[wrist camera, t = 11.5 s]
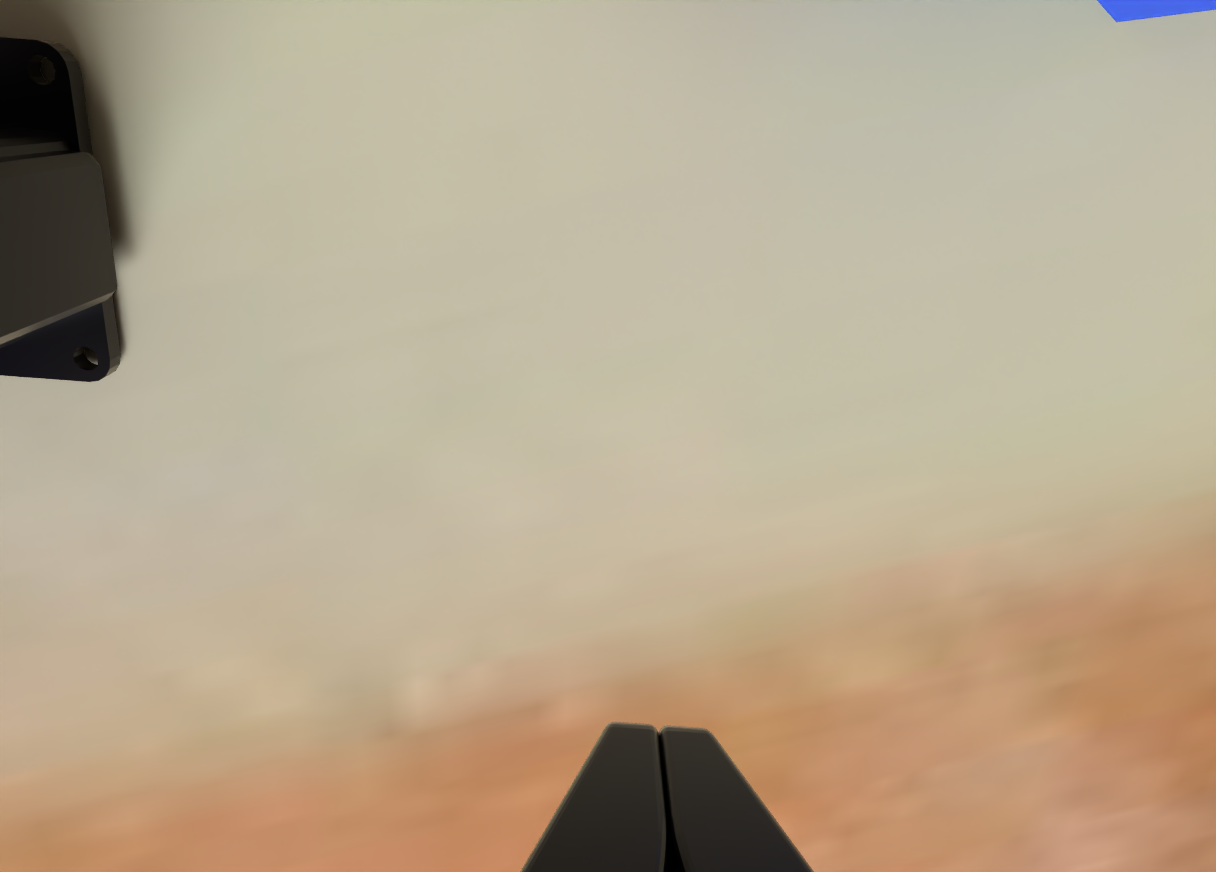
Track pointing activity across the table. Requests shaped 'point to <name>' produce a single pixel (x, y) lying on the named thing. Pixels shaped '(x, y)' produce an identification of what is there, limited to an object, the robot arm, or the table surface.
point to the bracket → (1153, 8)
